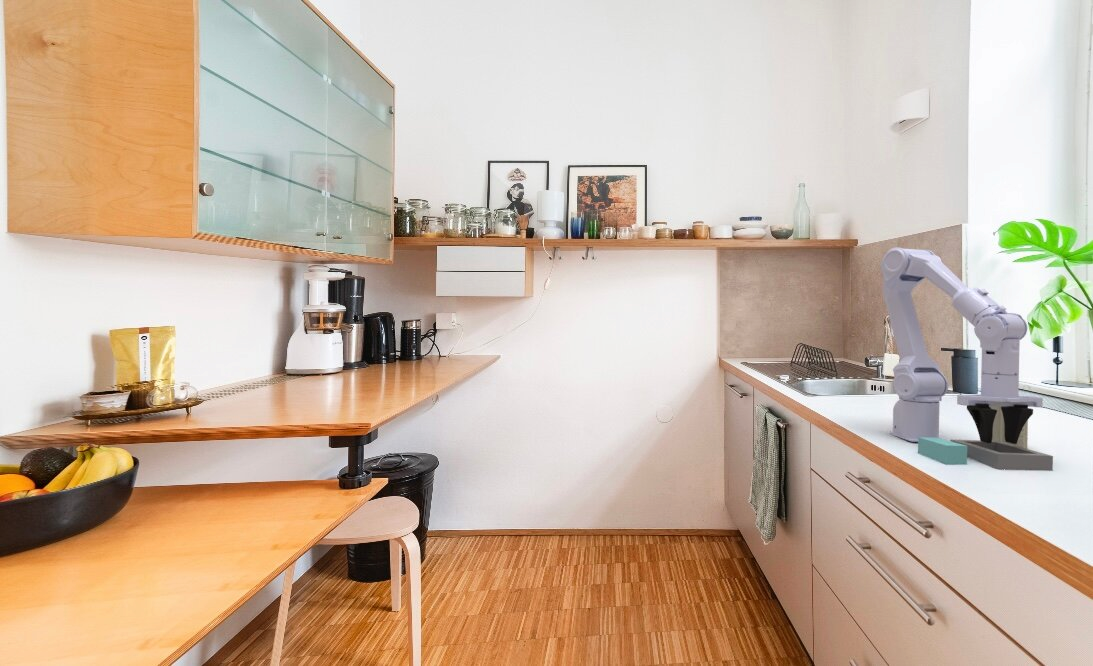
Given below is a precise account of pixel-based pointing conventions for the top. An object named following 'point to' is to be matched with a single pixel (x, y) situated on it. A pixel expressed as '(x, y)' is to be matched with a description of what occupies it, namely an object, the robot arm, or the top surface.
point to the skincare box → (1000, 428)
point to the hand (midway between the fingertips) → (998, 442)
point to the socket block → (1006, 456)
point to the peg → (943, 450)
